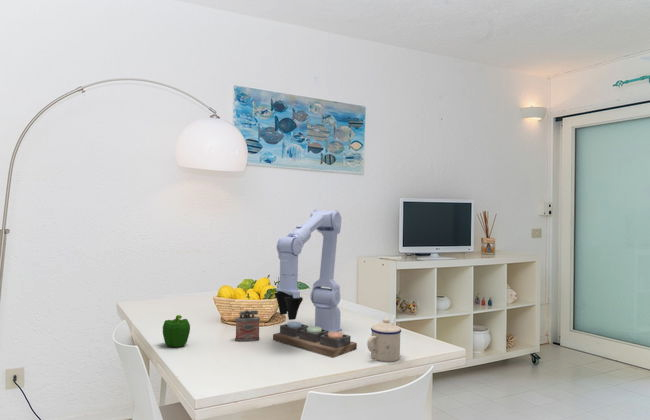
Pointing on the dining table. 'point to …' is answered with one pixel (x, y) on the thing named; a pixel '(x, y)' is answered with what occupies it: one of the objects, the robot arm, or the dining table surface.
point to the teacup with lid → (385, 341)
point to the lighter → (247, 326)
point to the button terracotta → (335, 335)
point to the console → (314, 341)
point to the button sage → (314, 329)
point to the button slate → (294, 324)
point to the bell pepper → (176, 331)
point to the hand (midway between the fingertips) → (287, 316)
